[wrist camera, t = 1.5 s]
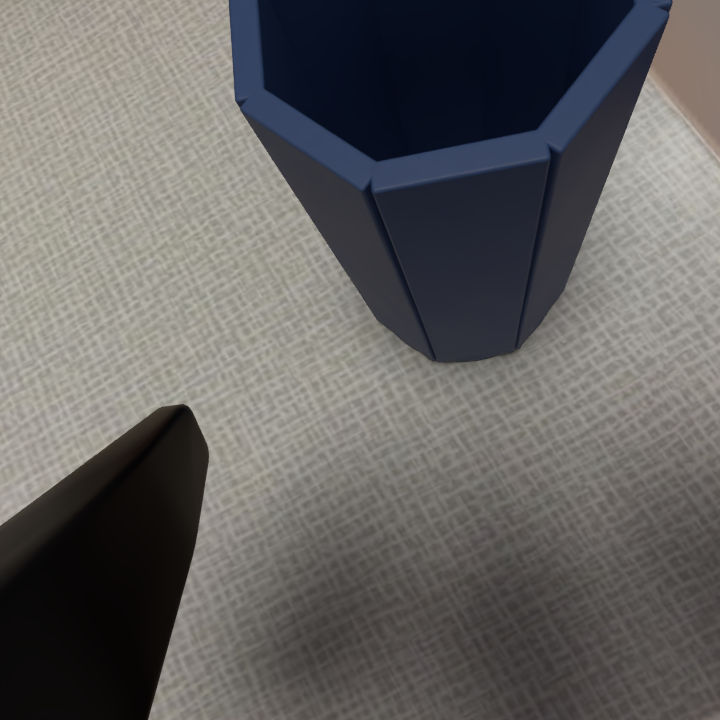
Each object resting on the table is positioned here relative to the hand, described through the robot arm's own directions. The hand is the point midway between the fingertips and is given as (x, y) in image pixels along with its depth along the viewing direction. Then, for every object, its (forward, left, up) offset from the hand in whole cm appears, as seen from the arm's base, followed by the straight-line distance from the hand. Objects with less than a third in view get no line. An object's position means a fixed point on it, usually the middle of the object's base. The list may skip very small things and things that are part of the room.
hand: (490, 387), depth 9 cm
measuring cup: (+9, +1, -12) cm, 15 cm away
